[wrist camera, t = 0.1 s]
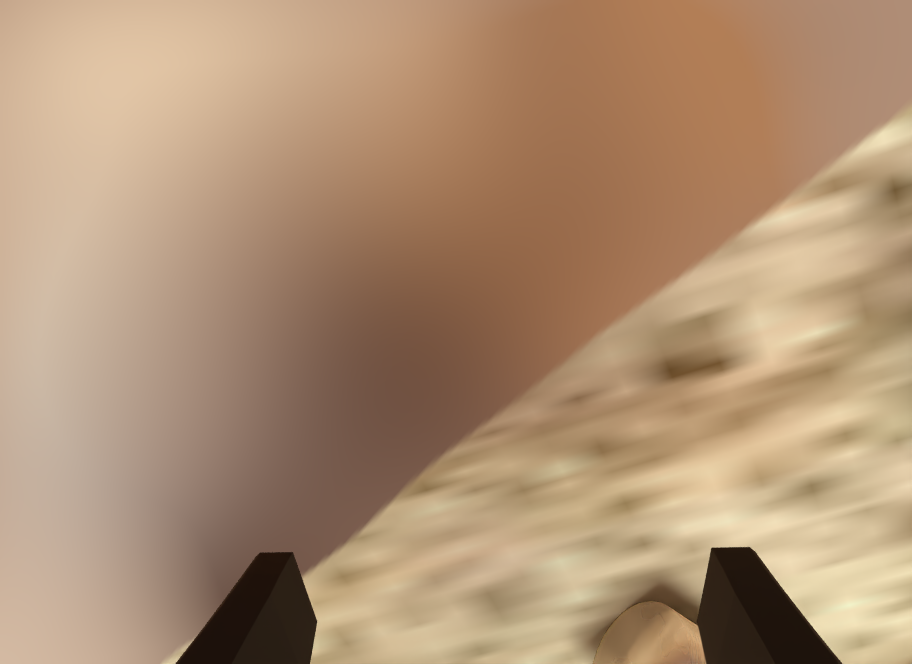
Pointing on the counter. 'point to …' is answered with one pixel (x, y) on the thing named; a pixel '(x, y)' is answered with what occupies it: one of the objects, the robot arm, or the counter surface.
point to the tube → (651, 638)
